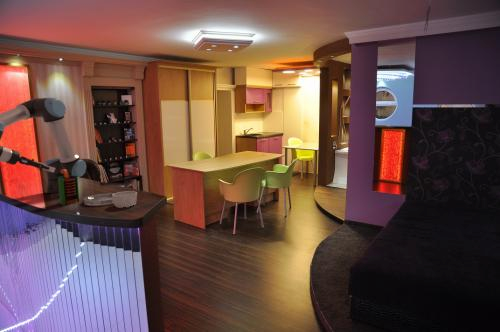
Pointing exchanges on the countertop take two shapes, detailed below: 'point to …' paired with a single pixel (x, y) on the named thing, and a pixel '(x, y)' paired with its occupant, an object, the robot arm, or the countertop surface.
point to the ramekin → (124, 199)
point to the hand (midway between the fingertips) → (49, 168)
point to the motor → (68, 188)
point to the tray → (98, 200)
